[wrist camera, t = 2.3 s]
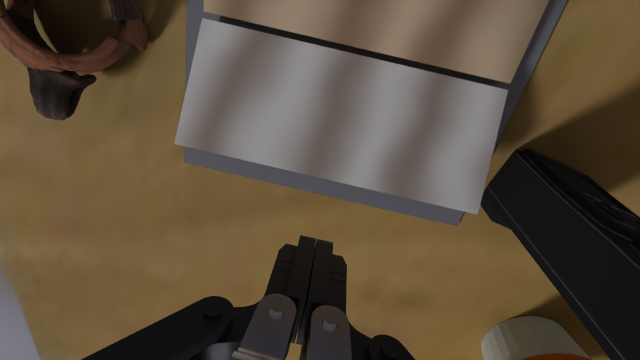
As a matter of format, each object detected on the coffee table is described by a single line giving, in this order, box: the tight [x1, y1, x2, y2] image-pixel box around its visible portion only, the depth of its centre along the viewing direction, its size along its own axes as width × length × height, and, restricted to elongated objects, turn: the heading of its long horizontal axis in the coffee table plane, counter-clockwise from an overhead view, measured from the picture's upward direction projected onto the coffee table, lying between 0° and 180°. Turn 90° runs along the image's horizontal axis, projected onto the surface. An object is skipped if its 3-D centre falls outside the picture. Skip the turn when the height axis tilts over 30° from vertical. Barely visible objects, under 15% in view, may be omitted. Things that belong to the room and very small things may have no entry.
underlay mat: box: [184, 0, 567, 226], centre depth 25 cm, size 26×22×1 cm
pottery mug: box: [0, 0, 149, 120], centre depth 24 cm, size 12×10×8 cm
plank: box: [174, 18, 508, 215], centre depth 24 cm, size 22×9×2 cm
